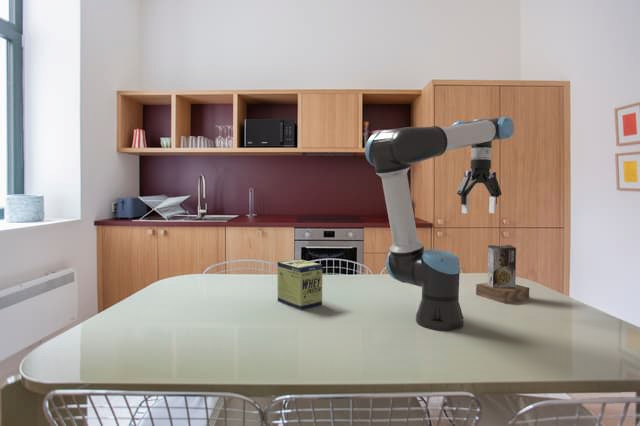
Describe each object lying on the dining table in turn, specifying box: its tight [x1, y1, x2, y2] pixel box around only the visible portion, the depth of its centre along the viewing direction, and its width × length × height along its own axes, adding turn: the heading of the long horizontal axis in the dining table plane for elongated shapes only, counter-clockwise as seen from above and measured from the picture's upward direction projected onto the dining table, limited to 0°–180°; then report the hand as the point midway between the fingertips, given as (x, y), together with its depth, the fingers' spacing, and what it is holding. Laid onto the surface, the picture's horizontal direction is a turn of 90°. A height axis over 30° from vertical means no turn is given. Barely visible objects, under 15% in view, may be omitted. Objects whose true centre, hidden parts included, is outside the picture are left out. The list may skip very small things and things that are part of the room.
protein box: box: [277, 258, 323, 311], centre depth 166 cm, size 10×16×16 cm
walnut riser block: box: [475, 282, 530, 304], centre depth 175 cm, size 14×14×5 cm
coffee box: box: [486, 244, 517, 288], centre depth 174 cm, size 9×6×16 cm
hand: (478, 213), depth 172 cm, fingers open, 13 cm apart
